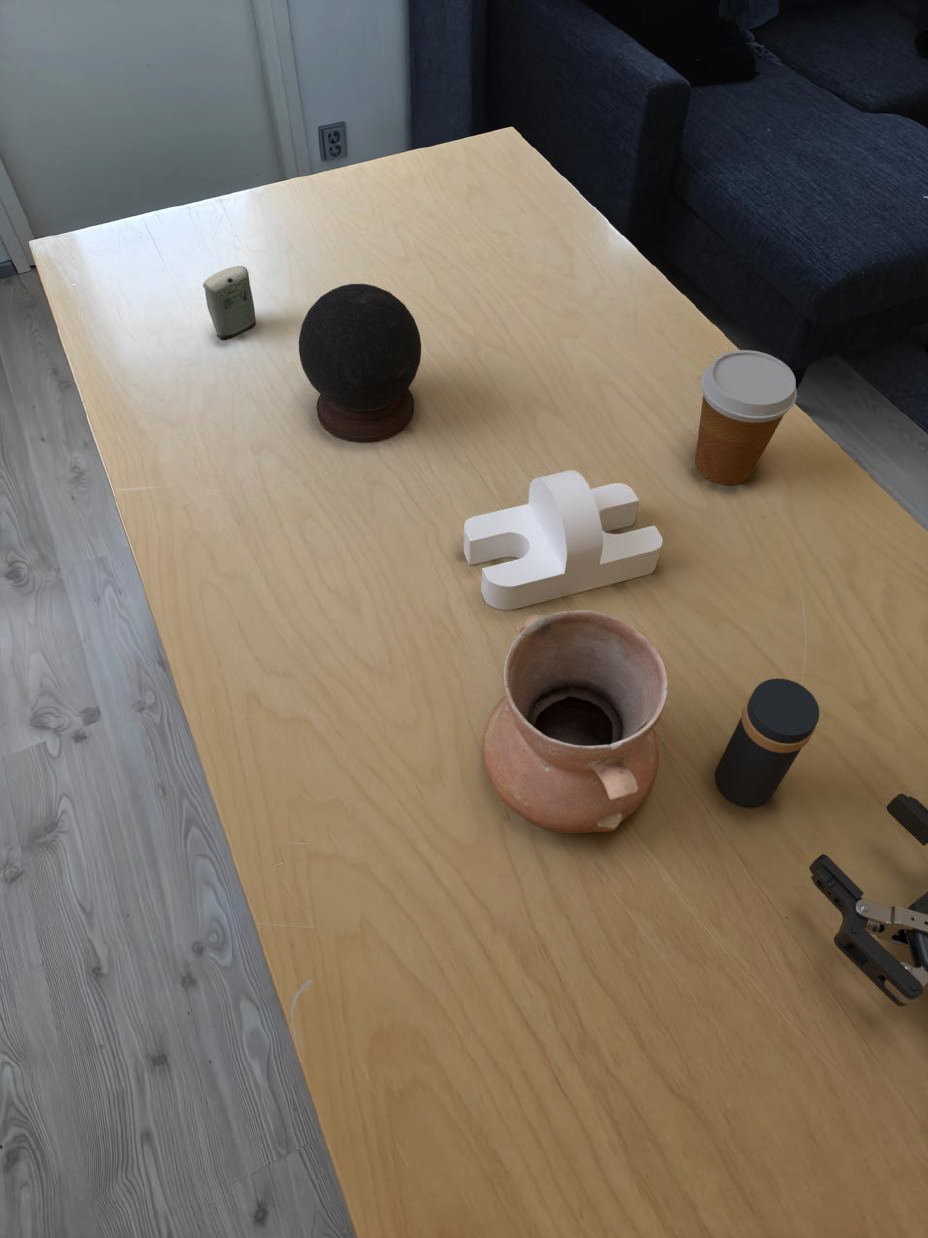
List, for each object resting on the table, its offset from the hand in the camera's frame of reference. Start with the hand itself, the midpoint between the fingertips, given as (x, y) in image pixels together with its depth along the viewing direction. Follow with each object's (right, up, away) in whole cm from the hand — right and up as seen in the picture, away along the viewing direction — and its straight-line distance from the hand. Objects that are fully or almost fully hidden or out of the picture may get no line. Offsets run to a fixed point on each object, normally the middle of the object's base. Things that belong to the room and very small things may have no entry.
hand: (854, 829), depth 69 cm
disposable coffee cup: (-1, +32, +33) cm, 46 cm away
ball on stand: (-40, +40, +38) cm, 68 cm away
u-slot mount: (-19, +22, +25) cm, 38 cm away
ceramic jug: (-20, +3, +11) cm, 23 cm away
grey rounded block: (-58, +51, +47) cm, 90 cm away
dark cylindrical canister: (-5, +2, +10) cm, 11 cm away
